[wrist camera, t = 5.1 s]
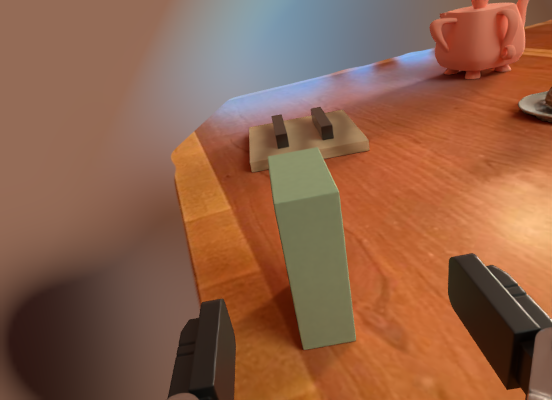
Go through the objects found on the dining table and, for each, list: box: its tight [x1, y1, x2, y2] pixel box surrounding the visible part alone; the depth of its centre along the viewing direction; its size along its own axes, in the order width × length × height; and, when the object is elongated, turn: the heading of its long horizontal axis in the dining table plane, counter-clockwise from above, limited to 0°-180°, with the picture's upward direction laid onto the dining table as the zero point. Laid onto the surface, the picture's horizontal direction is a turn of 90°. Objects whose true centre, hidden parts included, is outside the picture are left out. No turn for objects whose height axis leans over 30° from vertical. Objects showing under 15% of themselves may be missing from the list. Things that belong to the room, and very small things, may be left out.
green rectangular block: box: [268, 147, 356, 350], centre depth 26 cm, size 4×7×11 cm, turn 4°
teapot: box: [430, 0, 529, 79], centre depth 76 cm, size 16×17×14 cm
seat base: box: [249, 107, 369, 172], centre depth 60 cm, size 16×16×4 cm
